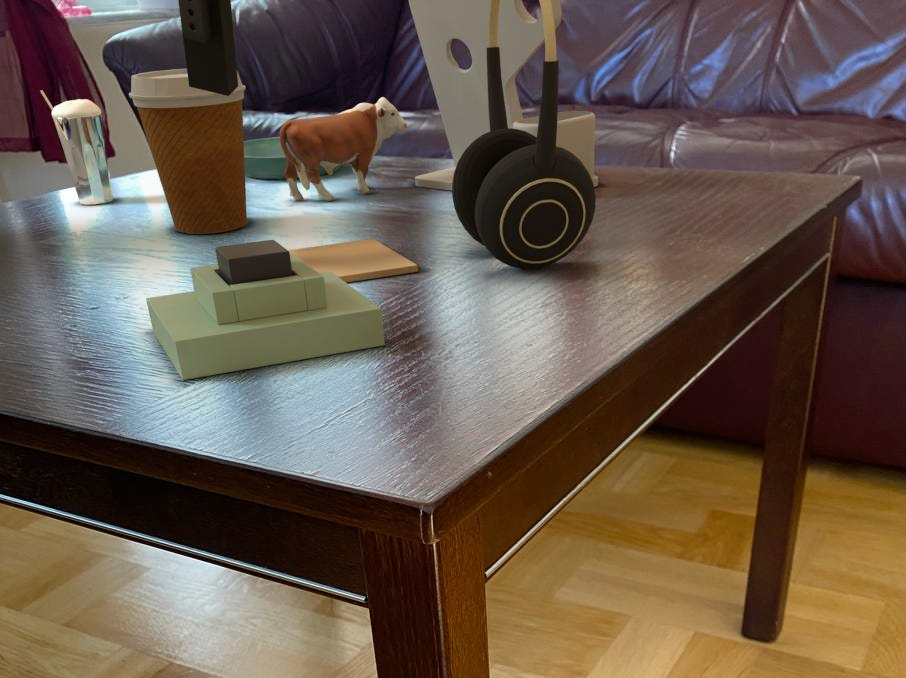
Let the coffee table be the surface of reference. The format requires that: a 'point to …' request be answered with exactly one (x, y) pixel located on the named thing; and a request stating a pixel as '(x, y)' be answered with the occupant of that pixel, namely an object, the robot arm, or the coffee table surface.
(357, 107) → the bull figurine
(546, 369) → the coffee table surface
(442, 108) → the phone holder
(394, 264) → the coaster
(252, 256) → the key
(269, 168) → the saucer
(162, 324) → the tiered green pedestal
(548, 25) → the headphones
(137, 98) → the disposable coffee cup
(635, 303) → the coffee table surface
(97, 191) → the milkshake
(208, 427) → the coffee table surface
